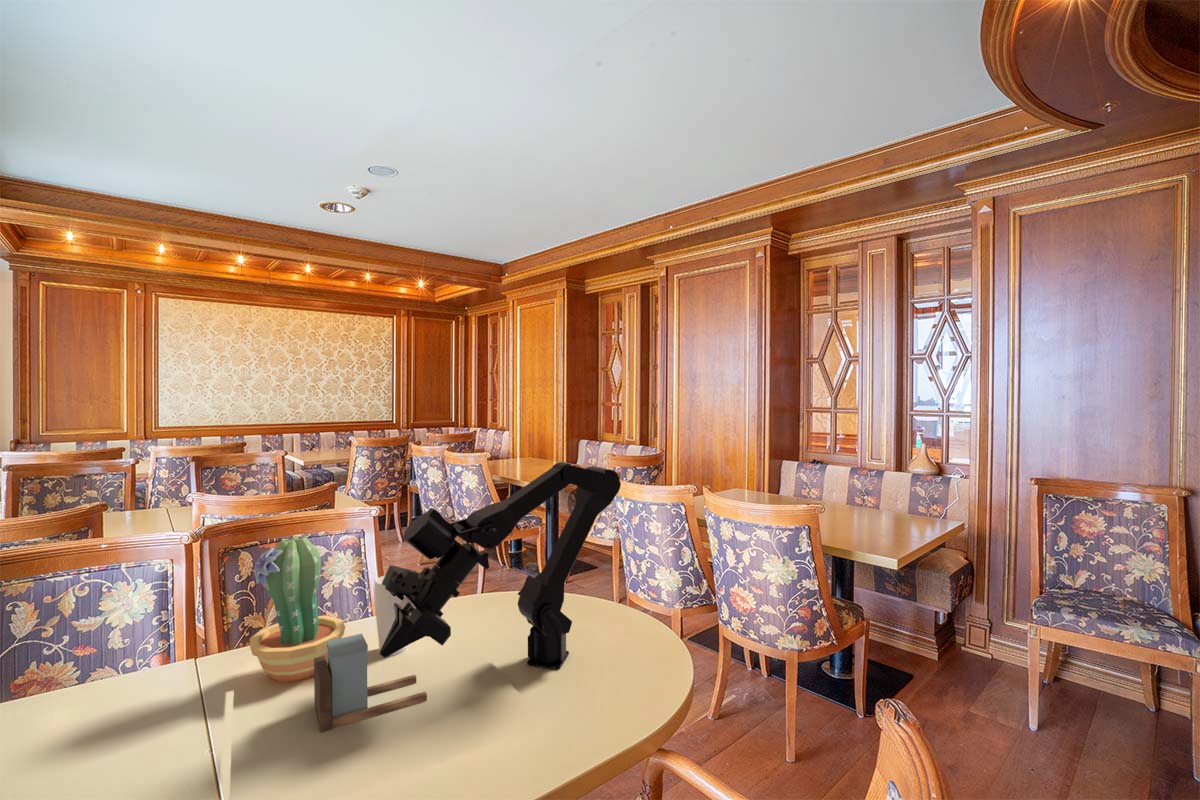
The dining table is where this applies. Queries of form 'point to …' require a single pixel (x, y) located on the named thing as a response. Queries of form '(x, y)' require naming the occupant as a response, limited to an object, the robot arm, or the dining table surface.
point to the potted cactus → (293, 612)
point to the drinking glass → (385, 612)
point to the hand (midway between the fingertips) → (382, 655)
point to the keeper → (348, 674)
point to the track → (325, 695)
